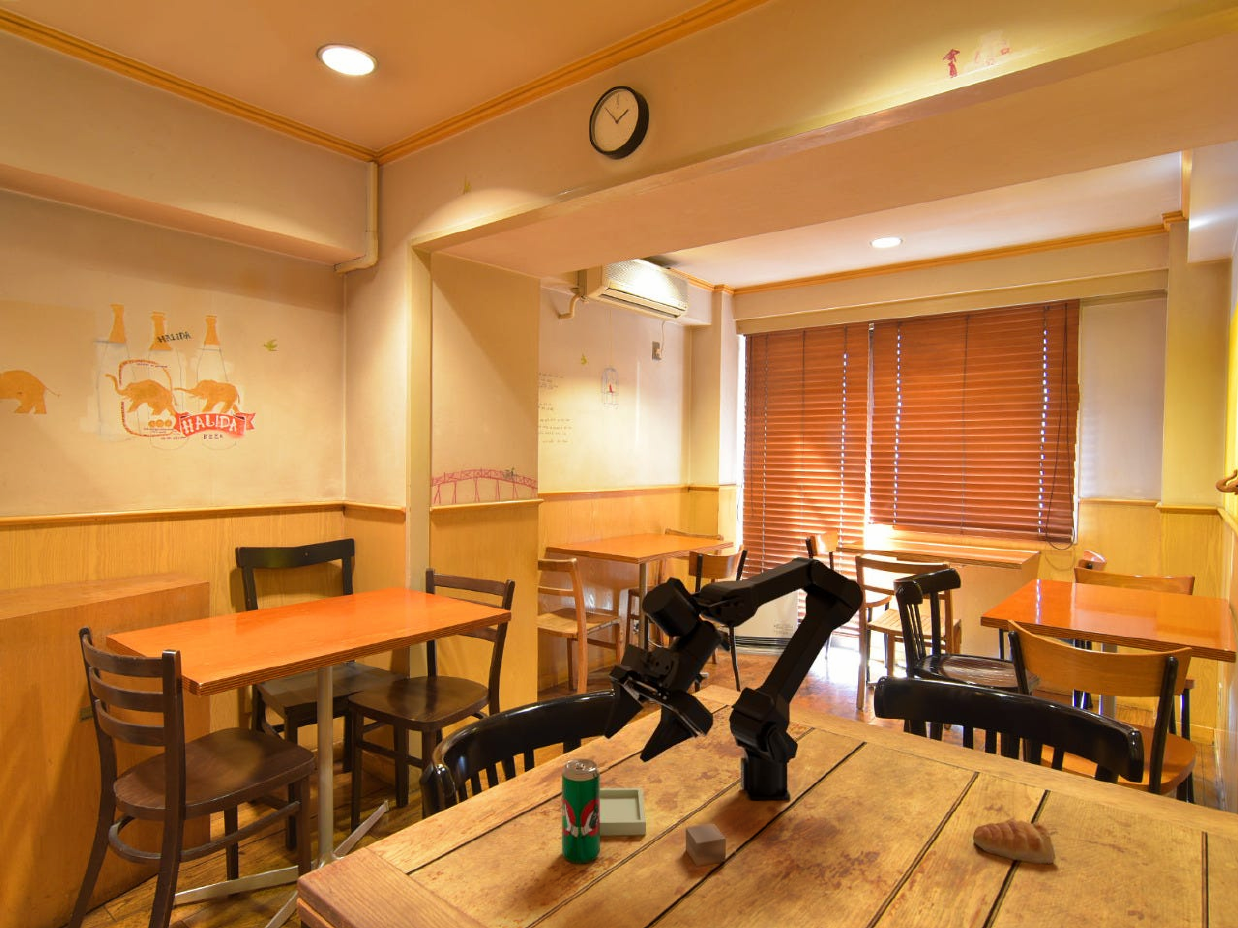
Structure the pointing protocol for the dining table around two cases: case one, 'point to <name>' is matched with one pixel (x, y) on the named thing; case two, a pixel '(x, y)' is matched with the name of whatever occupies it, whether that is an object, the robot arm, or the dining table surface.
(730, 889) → the dining table surface
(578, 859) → the soda can
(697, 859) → the small brown cube
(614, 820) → the tray
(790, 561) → the robot arm
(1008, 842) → the pastry
